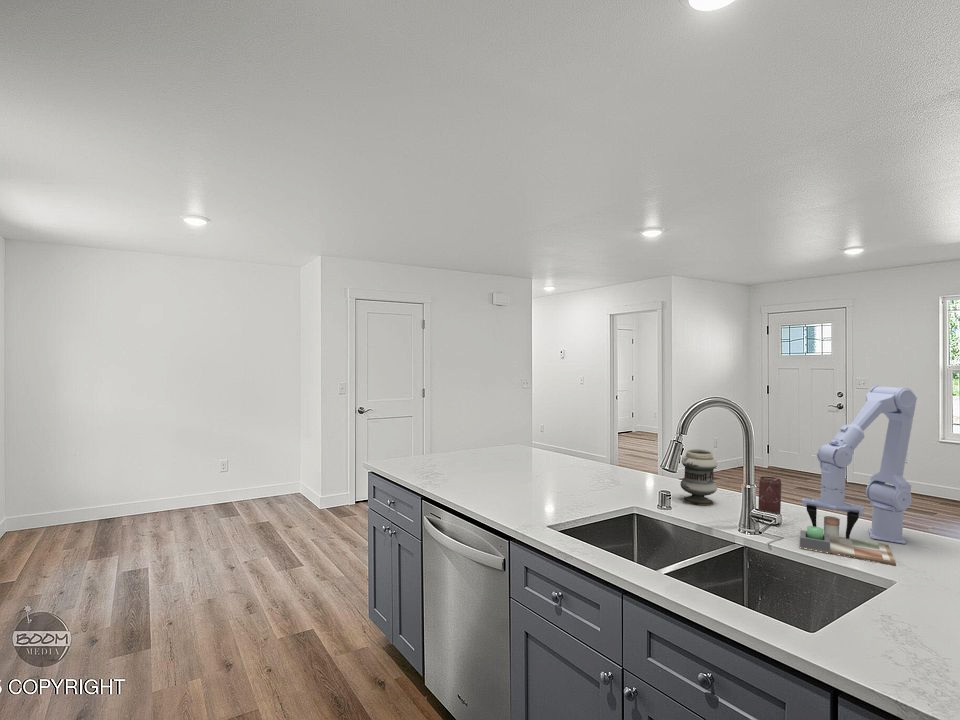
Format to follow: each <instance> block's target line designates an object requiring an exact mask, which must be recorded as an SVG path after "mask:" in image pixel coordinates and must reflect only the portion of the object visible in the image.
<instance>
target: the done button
mask: <svg viewBox="0 0 960 720" xmlns="http://www.w3.org/2000/svg"><path fill="white" fill-rule="evenodd" d="M806 531H807V537H808V538H814V539H819V540H823V534H824V528H822V527H819V526H817V527H814V526H813V525H808V526H807V527H806Z"/></svg>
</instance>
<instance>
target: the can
mask: <svg viewBox="0 0 960 720" xmlns="http://www.w3.org/2000/svg"><path fill="white" fill-rule="evenodd" d="M781 501H782V480H781V478H779V477H774V476H761V477H759V481H758V505H757V506H758V509H757V510H760V511H765V512H771V513H775V514H780V515H781V510H782V509H781V508H782V507H781V506H782V505H781V504H782V502H781Z"/></svg>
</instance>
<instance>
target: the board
mask: <svg viewBox="0 0 960 720" xmlns="http://www.w3.org/2000/svg"><path fill="white" fill-rule="evenodd" d="M801 531H804V530H802V529H801V530H800V532H799V533H800V535H801ZM805 531H806V532H807V530H805ZM800 535H799V536H800ZM800 547H801V546H800V545H799V548H800ZM801 548H807V547H801ZM807 549H812V550H817V551H822V552H828V553H833V554H840V555H845V556H850V557H855V558H860V559H859V560H861V559H865V560H864V561H866V560H870V561H869V562H872V561H875V562H874V563H877V562H880V563H879V564H883V563H884V565H888V564H889V565H888V566H894V567H896V566H897V562H896V560H895V558H894V555H893V552H892V550H891V547H890V545H889V544H886V543H880V542H877V541H876V542H875V541H871V540H864V539H858V538H857V539H856V538H853V537H852V538H850V537H849V539H846V536H839V541H836V542H835V541H830V552H829V551H824V550H818V549H813V548H807ZM822 552H821V553H822ZM833 554H832V555H833ZM850 557H849V558H850ZM855 558H854V559H855Z"/></svg>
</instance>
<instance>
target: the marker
mask: <svg viewBox="0 0 960 720" xmlns="http://www.w3.org/2000/svg"><path fill="white" fill-rule="evenodd" d="M840 520H841V519H840V518H839V517H836V516H830V515H827V516H826V515H825V516H823V534H824V535H829V537H830V541H835V542H836V541H839V537H840Z"/></svg>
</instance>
